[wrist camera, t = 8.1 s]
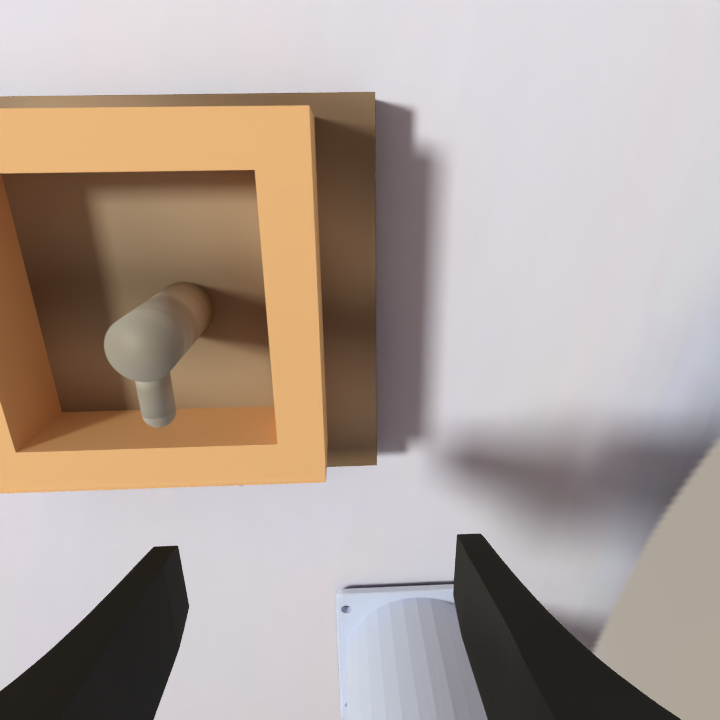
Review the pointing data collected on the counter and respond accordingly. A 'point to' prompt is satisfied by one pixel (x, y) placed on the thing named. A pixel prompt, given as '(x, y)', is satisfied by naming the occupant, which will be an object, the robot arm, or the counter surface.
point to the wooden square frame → (282, 294)
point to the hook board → (199, 275)
